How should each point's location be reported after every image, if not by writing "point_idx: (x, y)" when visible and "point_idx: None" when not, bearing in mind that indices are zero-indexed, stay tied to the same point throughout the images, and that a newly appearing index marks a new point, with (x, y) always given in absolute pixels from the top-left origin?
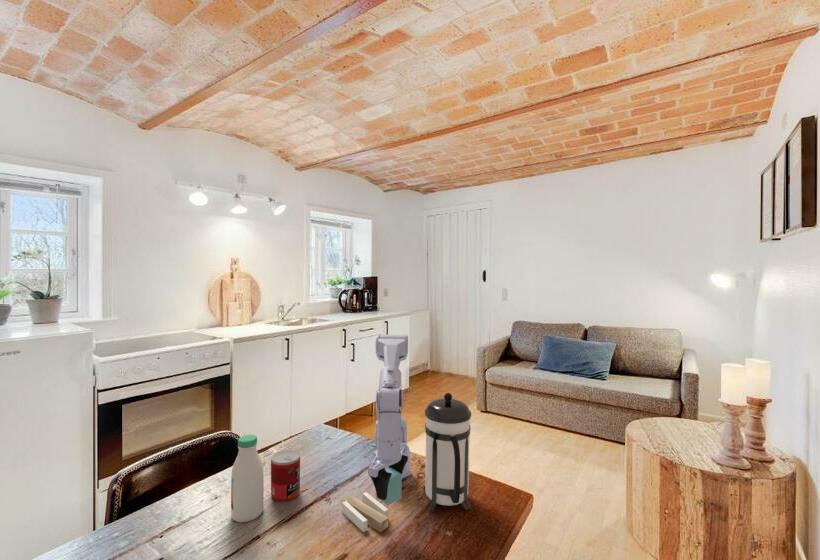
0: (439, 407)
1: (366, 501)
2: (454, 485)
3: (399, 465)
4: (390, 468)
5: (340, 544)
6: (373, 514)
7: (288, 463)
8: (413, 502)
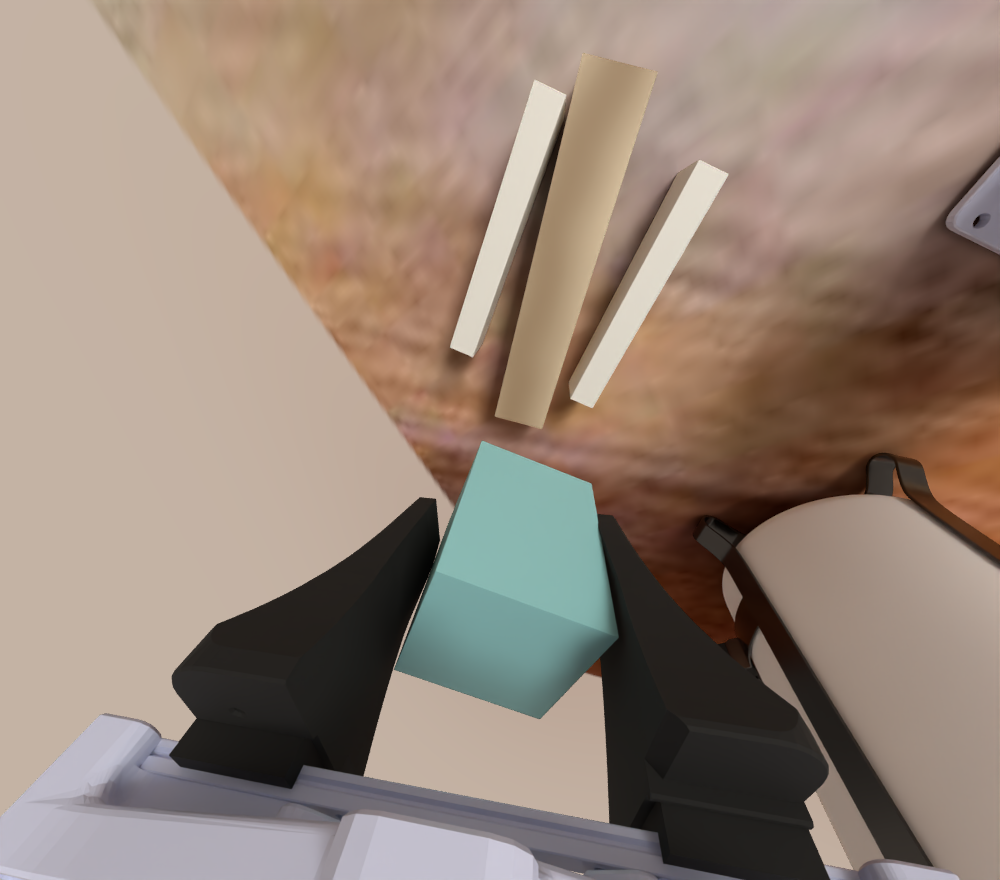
0: None
1: (658, 221)
2: None
3: (614, 744)
4: (590, 643)
5: (351, 289)
6: (531, 356)
7: None
8: (754, 439)
